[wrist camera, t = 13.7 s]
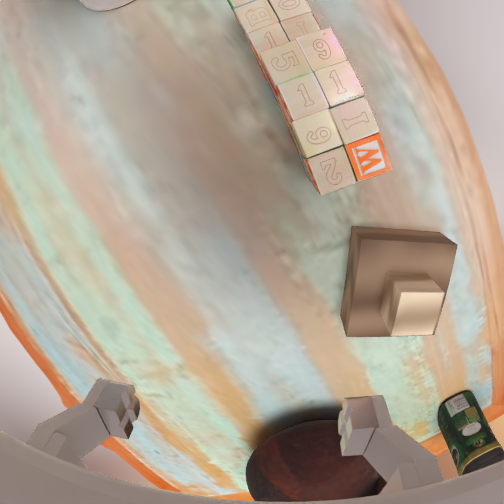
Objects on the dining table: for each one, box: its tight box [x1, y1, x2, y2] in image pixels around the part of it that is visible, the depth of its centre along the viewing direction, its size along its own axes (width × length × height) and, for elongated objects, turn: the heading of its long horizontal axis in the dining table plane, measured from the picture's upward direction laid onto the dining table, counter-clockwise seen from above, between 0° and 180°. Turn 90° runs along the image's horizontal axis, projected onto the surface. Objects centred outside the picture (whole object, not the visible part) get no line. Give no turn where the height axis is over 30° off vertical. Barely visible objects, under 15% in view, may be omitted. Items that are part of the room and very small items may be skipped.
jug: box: [246, 420, 387, 502], centre depth 38 cm, size 25×25×25 cm
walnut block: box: [340, 226, 457, 337], centre depth 35 cm, size 12×12×5 cm
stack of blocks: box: [227, 0, 392, 195], centre depth 26 cm, size 21×6×12 cm, turn 23°
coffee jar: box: [438, 392, 504, 476], centre depth 36 cm, size 10×8×19 cm
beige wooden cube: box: [379, 272, 444, 336], centre depth 31 cm, size 5×5×5 cm
